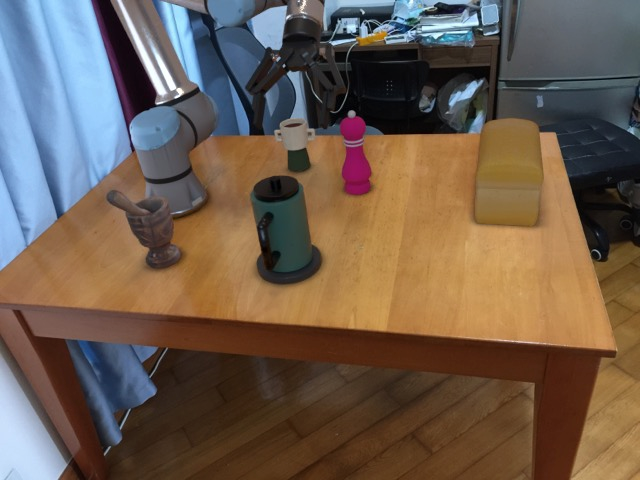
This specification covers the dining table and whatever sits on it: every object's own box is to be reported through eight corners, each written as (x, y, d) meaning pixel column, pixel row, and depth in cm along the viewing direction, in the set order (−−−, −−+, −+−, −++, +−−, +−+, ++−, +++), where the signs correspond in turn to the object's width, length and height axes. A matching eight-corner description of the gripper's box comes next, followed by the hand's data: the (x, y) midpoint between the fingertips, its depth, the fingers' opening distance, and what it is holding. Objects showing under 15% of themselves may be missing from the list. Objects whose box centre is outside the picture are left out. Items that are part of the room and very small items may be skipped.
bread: (478, 171, 135) (481, 113, 126) (534, 173, 131) (541, 113, 123) (472, 223, 115) (475, 158, 107) (537, 227, 112) (546, 160, 103)
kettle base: (271, 244, 117) (269, 238, 117) (328, 248, 114) (328, 242, 113) (247, 281, 107) (246, 275, 106) (310, 287, 103) (309, 281, 102)
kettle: (280, 230, 118) (267, 155, 108) (324, 233, 115) (315, 156, 106) (246, 284, 103) (227, 203, 94) (296, 289, 100) (282, 205, 91)
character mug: (321, 162, 149) (316, 116, 142) (316, 174, 143) (311, 127, 136) (283, 163, 151) (276, 118, 144) (277, 174, 146) (269, 128, 139)
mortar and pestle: (169, 280, 110) (140, 193, 99) (130, 280, 112) (97, 194, 101) (189, 248, 120) (165, 165, 109) (152, 248, 121) (125, 167, 111)
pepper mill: (376, 183, 135) (372, 105, 124) (366, 197, 130) (360, 117, 119) (349, 180, 138) (342, 104, 127) (338, 194, 133) (330, 115, 122)
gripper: (238, 19, 109) (222, 119, 105) (360, 11, 102) (347, 118, 98) (253, 39, 116) (239, 134, 112) (368, 33, 109) (357, 134, 105)
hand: (289, 126), depth 105 cm, fingers open, 13 cm apart
